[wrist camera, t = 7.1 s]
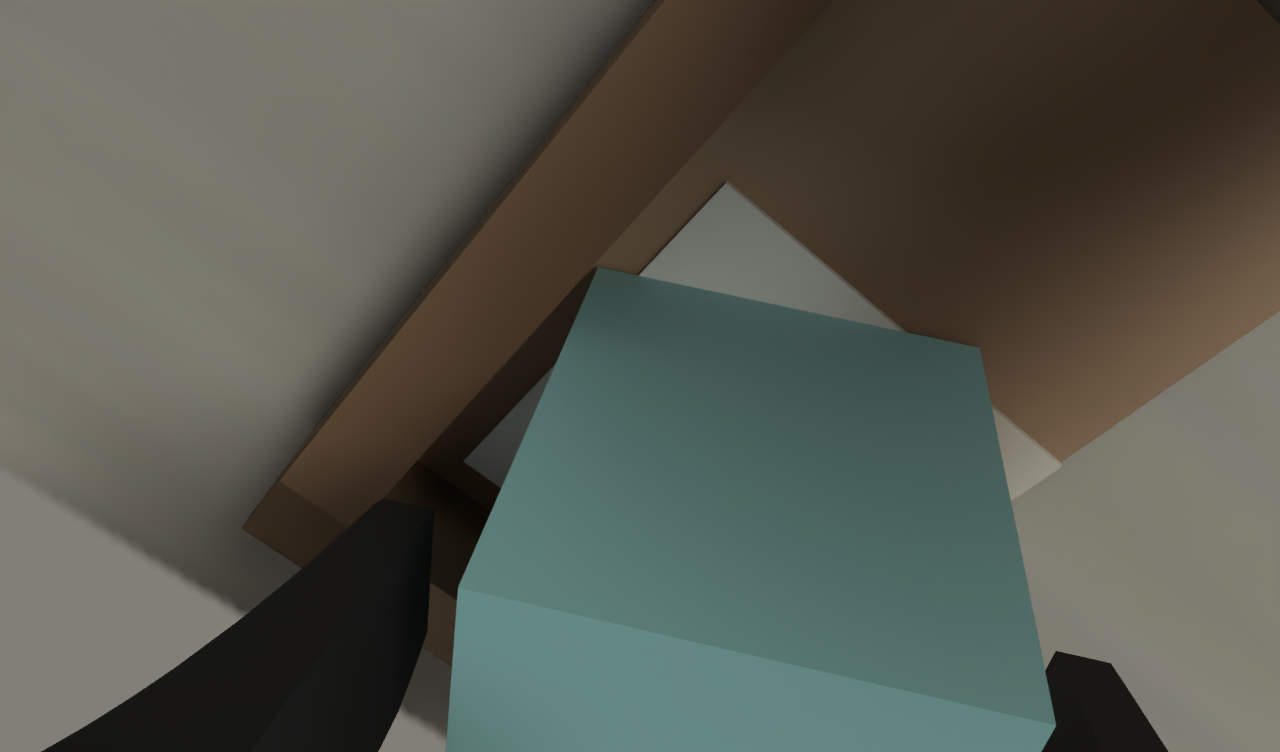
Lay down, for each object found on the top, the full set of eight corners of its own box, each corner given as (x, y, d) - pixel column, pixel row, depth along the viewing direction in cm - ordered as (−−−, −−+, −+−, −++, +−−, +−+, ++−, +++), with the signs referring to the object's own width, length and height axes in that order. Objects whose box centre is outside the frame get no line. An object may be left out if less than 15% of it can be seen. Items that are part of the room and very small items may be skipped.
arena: (312, 430, 17) (241, 528, 15) (927, -342, 10) (947, -350, 8) (694, 695, 19) (676, 813, 17) (1423, 180, 12) (1536, 274, 10)
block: (557, 547, 17) (432, 913, 12) (598, 266, 14) (457, 588, 9) (878, 620, 16) (891, 1027, 11) (984, 348, 14) (1062, 728, 9)
